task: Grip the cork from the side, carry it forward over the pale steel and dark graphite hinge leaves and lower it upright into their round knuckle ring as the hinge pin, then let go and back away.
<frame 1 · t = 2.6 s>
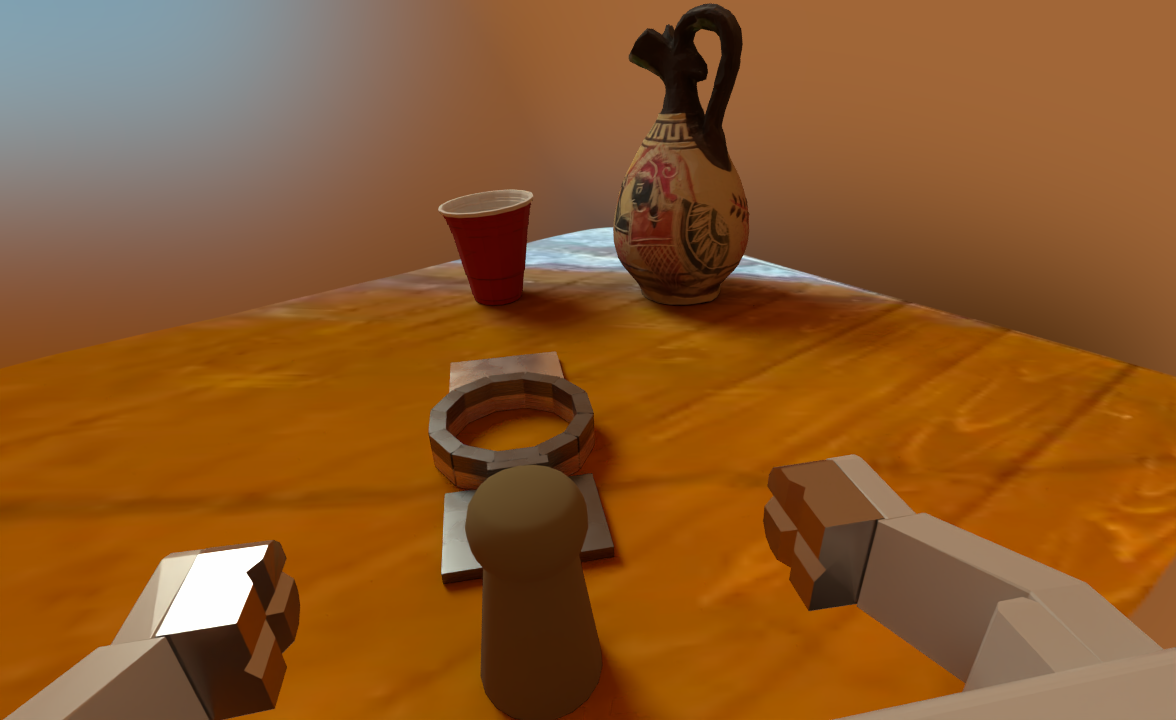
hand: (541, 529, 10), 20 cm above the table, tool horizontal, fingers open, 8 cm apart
ceramic jug: (682, 295, 73), on the table
plastic cup: (496, 298, 74), on the table
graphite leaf: (516, 454, 43), in the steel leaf
cork: (542, 664, 30), on the table
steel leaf: (514, 442, 47), on the table
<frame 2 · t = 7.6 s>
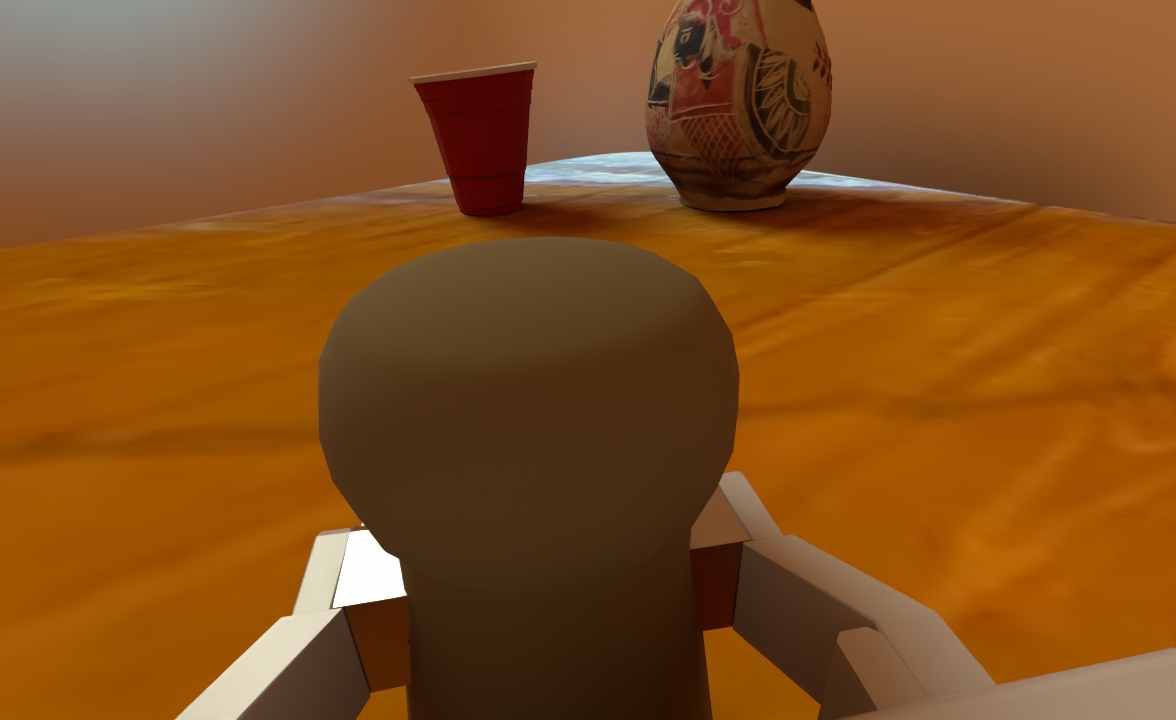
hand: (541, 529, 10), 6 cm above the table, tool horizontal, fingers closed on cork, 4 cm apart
ceramic jug: (735, 205, 55), on the table
plastic cup: (488, 210, 56), on the table
when the fingers open (7 cm above the table, at t = 13.5 s): cork moves 2 cm, resting on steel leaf.
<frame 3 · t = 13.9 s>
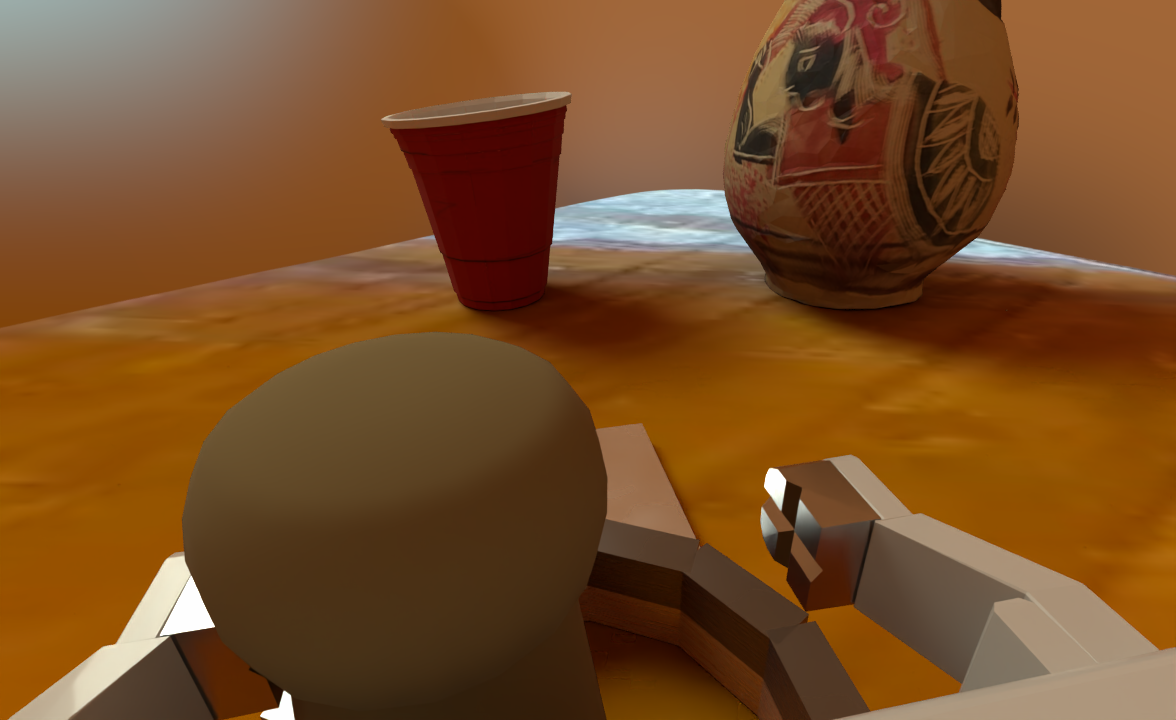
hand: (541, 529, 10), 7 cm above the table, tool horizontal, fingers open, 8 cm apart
ceramic jug: (846, 292, 39), on the table
plastic cup: (498, 297, 40), on the table
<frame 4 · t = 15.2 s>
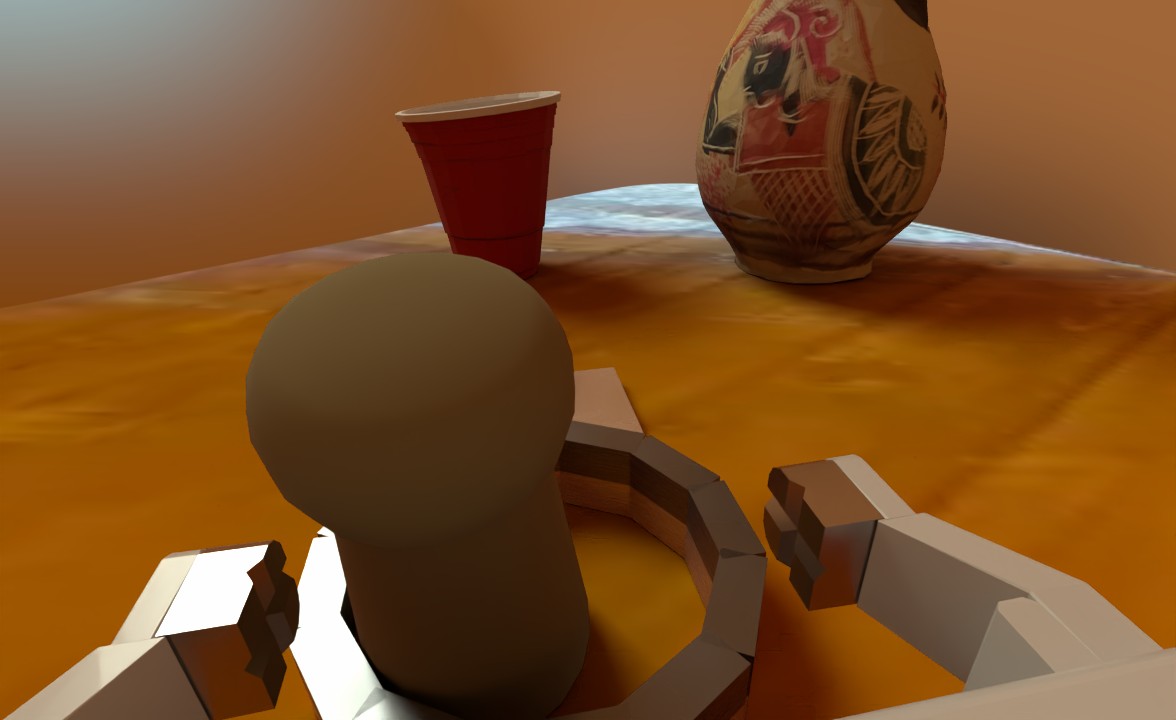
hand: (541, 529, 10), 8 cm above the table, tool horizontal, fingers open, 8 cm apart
ceramic jug: (806, 270, 44), on the table
plastic cup: (497, 274, 45), on the table
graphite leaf: (551, 699, 14), in the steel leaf
cork: (480, 626, 17), point 1 cm above the table
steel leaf: (540, 616, 18), on the table
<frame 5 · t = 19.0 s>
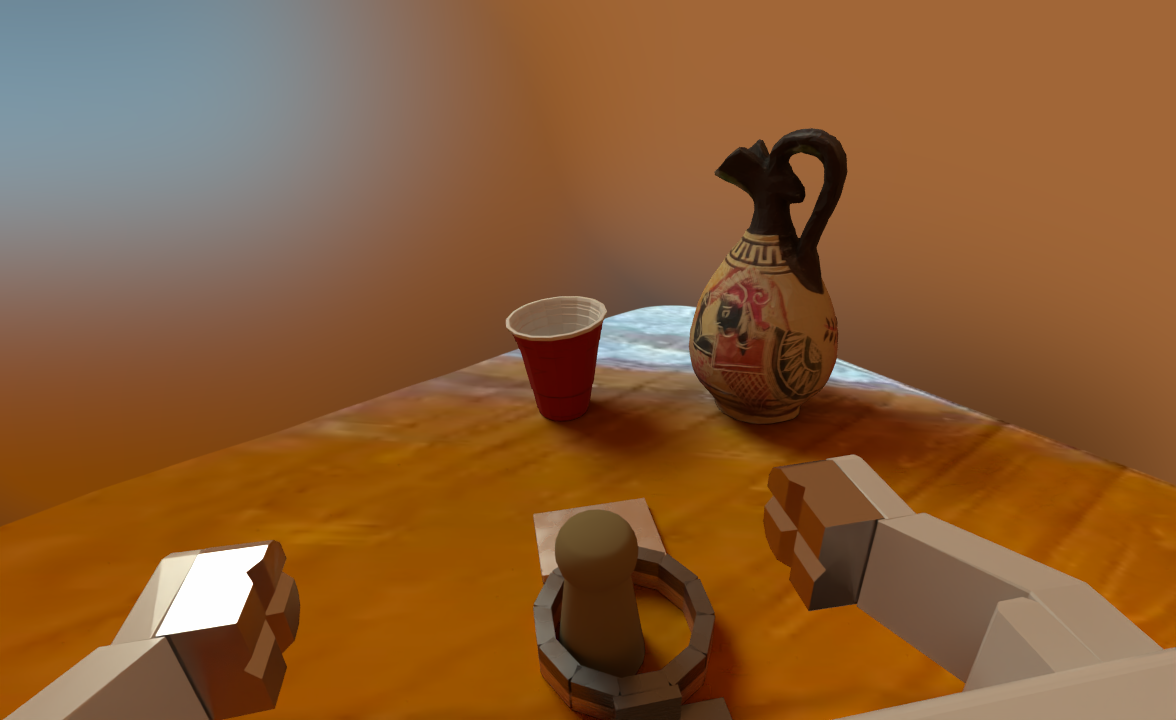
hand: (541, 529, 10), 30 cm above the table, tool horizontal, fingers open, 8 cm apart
ceramic jug: (759, 408, 68), on the table
plastic cup: (561, 409, 70), on the table
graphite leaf: (635, 669, 39), in the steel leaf
cork: (601, 649, 42), resting in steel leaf
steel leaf: (623, 637, 43), on the table
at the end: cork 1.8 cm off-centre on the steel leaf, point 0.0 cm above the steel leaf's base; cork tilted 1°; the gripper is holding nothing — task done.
